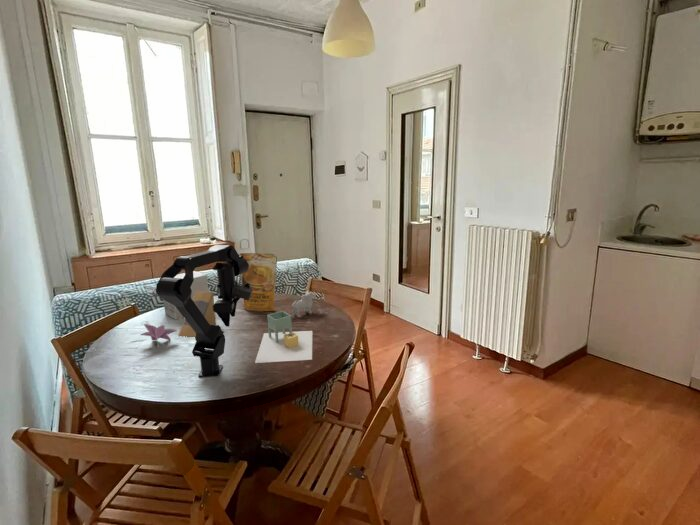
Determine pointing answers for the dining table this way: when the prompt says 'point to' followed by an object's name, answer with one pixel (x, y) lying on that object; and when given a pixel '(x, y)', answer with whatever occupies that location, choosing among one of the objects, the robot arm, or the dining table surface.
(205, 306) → the sandwich container
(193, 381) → the dining table surface
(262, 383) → the dining table surface
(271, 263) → the pancake mix bag
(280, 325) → the green hollow square frame
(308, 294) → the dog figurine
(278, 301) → the dining table surface
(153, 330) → the lily
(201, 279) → the supplement box
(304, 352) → the white rectangular sheet
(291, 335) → the plus sign cube
